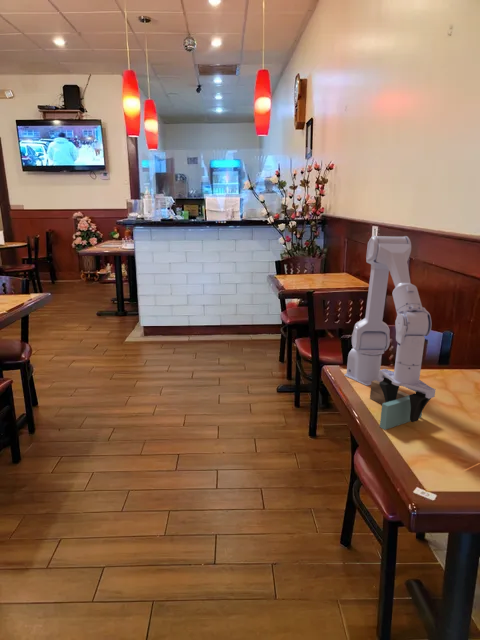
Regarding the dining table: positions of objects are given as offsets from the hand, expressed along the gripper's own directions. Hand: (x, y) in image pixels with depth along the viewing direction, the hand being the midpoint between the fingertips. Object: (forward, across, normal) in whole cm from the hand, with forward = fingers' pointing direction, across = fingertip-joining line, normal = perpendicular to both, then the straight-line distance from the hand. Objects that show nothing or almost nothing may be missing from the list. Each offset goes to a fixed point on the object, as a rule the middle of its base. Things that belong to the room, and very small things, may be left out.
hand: (401, 414), depth 110 cm
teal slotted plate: (+2, 0, 0) cm, 2 cm away
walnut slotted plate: (+2, -8, +4) cm, 9 cm away
